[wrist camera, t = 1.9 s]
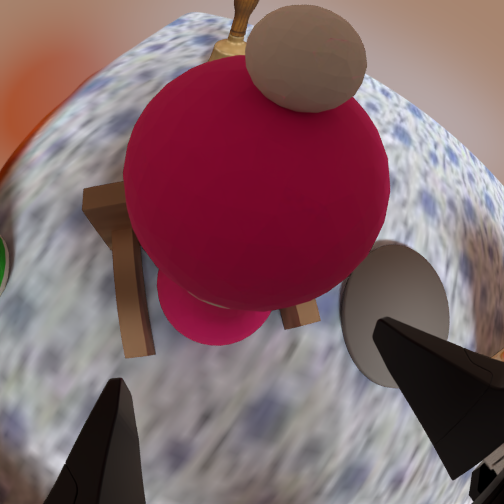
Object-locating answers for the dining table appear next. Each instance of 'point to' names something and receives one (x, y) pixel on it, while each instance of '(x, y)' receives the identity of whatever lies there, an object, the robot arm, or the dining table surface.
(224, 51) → the hand bell
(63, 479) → the robot arm
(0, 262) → the soda can
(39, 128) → the dining table surface
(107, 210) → the holder
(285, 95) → the pepper mill
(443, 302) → the mat
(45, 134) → the dining table surface
